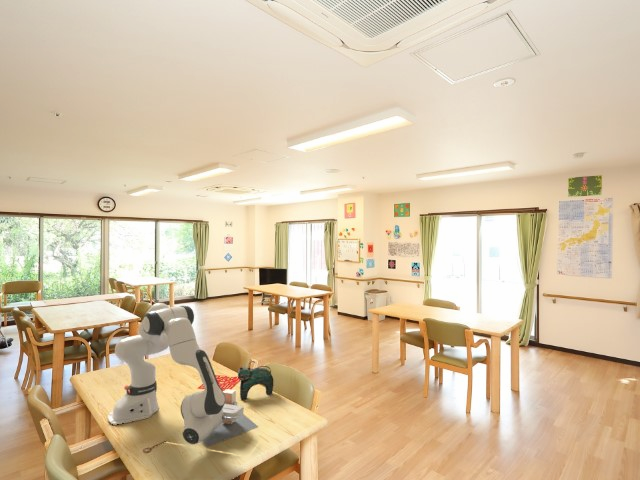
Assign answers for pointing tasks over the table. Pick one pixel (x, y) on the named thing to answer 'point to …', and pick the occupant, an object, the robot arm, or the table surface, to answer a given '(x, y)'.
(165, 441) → the key
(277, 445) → the table surface
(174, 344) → the robot arm
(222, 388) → the maze puzzle
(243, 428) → the mat
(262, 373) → the ceramic cat
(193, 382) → the table surface
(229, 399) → the block
